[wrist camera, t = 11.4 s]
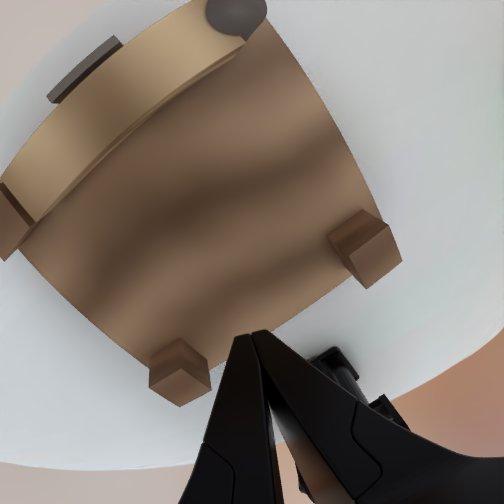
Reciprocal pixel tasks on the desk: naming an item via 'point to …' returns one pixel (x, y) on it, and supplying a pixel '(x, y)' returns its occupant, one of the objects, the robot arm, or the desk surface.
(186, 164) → the seat
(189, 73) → the hinged leg
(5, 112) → the desk surface
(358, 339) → the desk surface
